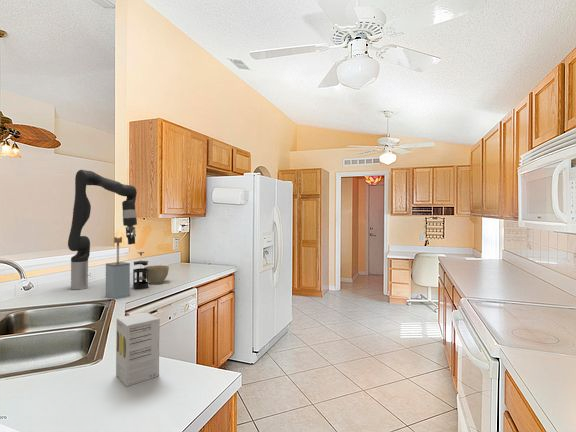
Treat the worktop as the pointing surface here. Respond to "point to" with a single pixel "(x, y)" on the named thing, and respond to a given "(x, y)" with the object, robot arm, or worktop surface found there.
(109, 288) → the block
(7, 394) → the worktop surface
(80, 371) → the worktop surface
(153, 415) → the worktop surface
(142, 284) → the french press
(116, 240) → the plunger
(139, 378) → the supplement box
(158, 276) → the planter bowl
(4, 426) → the worktop surface
